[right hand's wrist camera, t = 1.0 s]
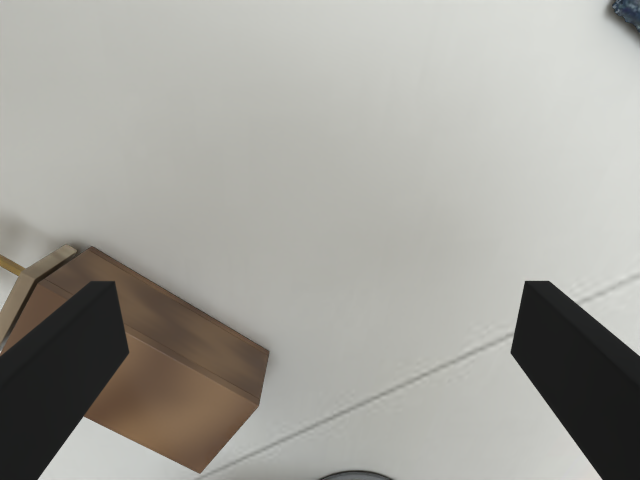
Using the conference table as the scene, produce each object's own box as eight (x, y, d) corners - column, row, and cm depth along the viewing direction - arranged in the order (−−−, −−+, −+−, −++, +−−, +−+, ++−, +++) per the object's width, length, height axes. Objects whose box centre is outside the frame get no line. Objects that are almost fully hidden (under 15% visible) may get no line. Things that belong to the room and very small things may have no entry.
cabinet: (49, 320, 42) (-10, 370, 34) (91, 245, 39) (37, 283, 31) (219, 412, 46) (199, 474, 39) (269, 351, 43) (259, 406, 36)
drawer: (-29, 281, 39) (-88, 314, 33) (6, 208, 36) (-53, 230, 31) (198, 402, 44) (179, 449, 39) (242, 346, 42) (230, 387, 36)
